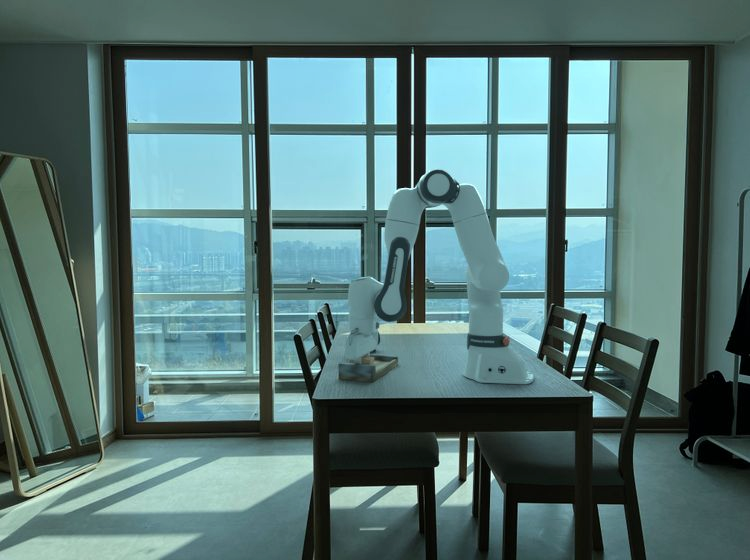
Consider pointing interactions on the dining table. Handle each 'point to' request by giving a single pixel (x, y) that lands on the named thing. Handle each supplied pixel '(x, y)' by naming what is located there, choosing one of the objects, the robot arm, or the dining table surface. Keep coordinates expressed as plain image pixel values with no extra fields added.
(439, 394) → the dining table surface
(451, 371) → the dining table surface
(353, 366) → the track
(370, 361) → the block
